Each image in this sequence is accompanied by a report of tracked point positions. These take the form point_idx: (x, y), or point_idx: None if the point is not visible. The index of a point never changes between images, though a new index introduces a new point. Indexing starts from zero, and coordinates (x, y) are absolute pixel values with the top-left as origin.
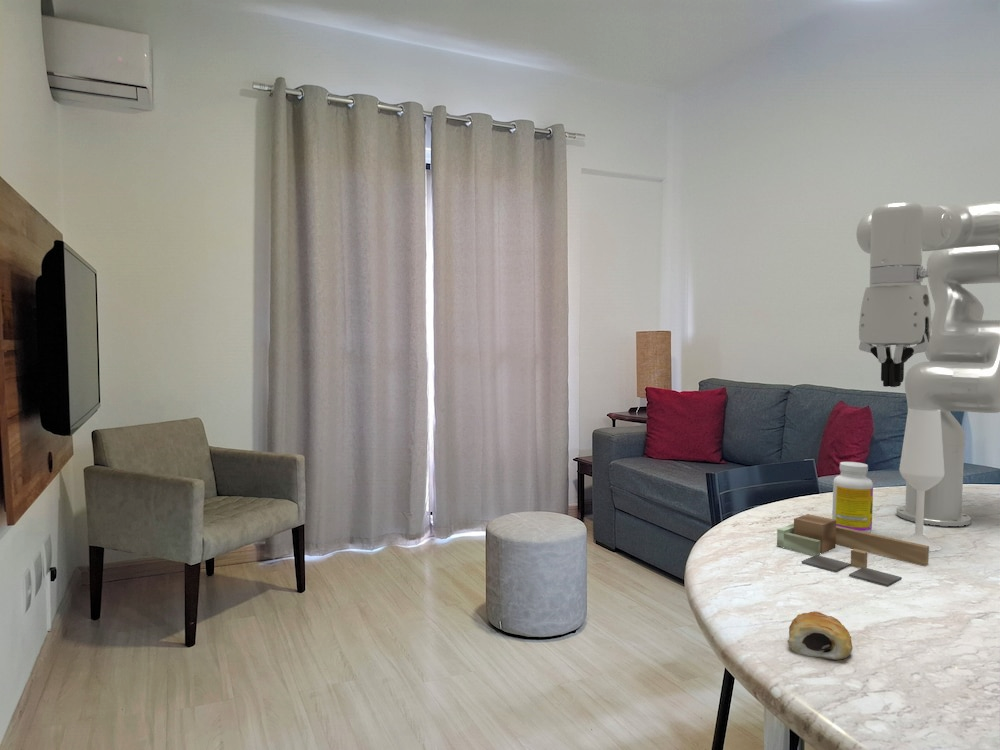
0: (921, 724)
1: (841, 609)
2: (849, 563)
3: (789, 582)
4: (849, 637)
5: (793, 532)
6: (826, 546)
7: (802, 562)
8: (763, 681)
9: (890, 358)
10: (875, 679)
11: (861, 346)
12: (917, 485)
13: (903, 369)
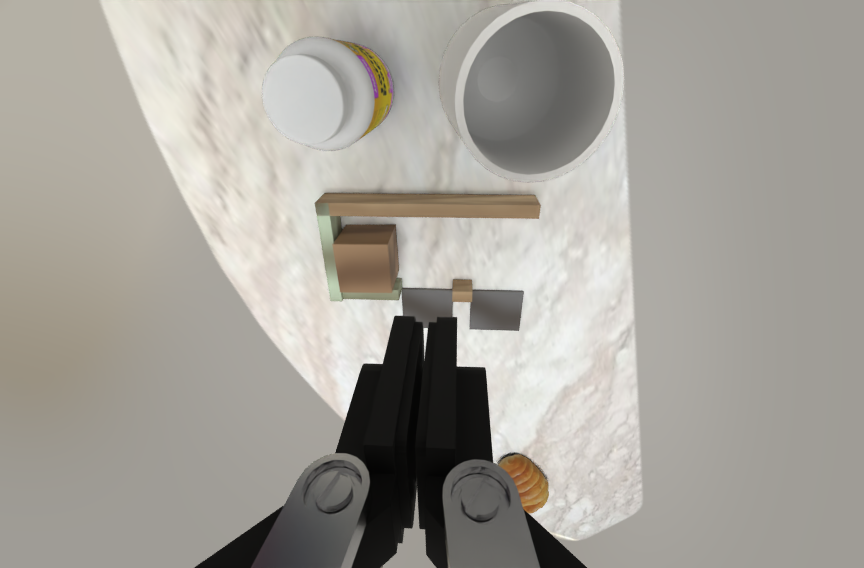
0: (606, 515)
1: (505, 413)
2: (451, 291)
3: None
4: (545, 485)
5: None
6: (396, 259)
7: None
8: None
9: (380, 532)
10: (570, 492)
11: None
12: (498, 117)
13: (490, 434)
